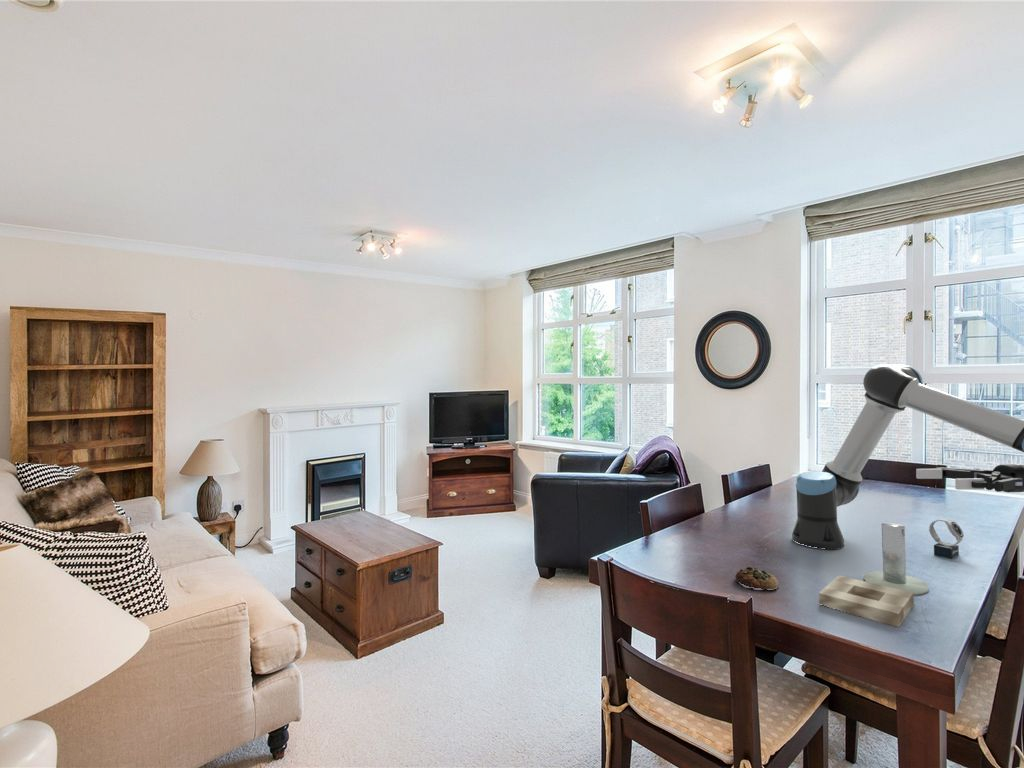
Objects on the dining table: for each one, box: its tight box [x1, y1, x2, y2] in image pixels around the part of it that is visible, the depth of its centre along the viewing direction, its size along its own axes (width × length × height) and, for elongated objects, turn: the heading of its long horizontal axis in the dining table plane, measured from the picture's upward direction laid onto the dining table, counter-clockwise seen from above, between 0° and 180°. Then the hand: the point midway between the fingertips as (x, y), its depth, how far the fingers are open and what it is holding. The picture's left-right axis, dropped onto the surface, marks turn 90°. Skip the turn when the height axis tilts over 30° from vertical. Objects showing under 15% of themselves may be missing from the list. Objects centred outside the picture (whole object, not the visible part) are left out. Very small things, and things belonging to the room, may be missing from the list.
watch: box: [928, 518, 964, 560], centre depth 157 cm, size 6×8×11 cm
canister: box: [881, 522, 907, 584], centre depth 137 cm, size 5×5×15 cm
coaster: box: [863, 570, 930, 596], centre depth 136 cm, size 14×14×1 cm
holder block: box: [818, 575, 915, 628], centre depth 124 cm, size 16×16×3 cm
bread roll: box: [734, 566, 779, 590], centre depth 139 cm, size 11×11×5 cm
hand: (935, 478), depth 137 cm, fingers open, 13 cm apart
